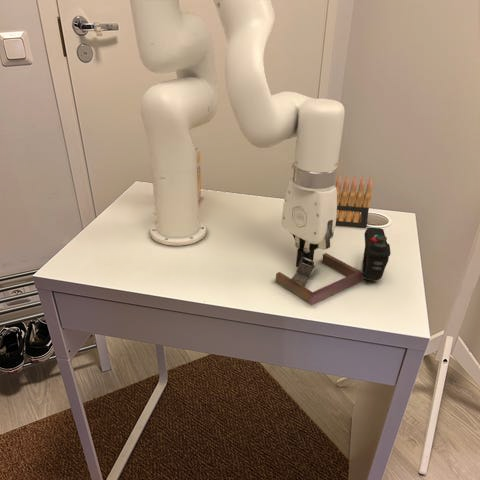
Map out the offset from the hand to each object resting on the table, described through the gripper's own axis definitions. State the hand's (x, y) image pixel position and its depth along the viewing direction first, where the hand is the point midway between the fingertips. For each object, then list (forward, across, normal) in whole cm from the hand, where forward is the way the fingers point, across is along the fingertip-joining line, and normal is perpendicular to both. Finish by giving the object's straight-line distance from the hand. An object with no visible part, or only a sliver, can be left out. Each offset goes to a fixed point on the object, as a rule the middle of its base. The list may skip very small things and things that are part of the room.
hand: (304, 266), depth 94 cm
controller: (+2, +9, +10) cm, 14 cm away
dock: (+1, +4, 0) cm, 4 cm away
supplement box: (+2, -44, +1) cm, 44 cm away
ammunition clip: (+2, -10, +24) cm, 26 cm away
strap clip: (+1, +1, -2) cm, 3 cm away
